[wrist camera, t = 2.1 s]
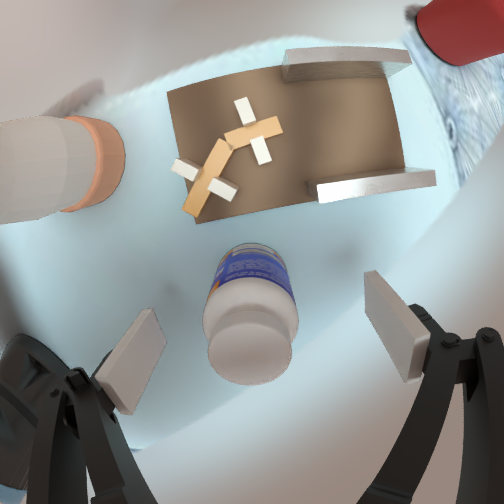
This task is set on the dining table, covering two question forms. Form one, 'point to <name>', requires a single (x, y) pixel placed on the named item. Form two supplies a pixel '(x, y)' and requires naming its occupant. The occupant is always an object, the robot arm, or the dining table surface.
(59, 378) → the robot arm
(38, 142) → the pepper shaker
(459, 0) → the beer can
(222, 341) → the pill bottle
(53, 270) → the dining table surface
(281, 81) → the board
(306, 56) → the end holder
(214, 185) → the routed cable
